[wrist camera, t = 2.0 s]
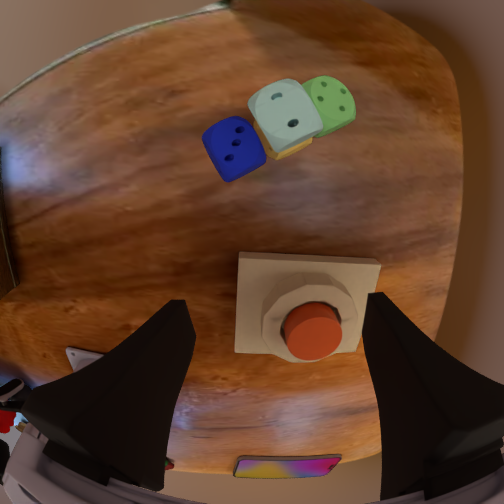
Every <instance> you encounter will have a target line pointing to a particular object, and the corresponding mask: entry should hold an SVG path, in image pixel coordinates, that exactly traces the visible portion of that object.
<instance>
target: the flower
mask: <svg viewBox="0 0 504 504" xmlns="http://www.w3.org/2000/svg"><path fill="white" fill-rule="evenodd" d="M7 401H8V400H7ZM15 417H16V412H10V411H3V410H0V433H8V432H9V431H10V426H13V425H14V418H15Z"/></svg>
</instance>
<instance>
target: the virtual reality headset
mask: <svg viewBox="0 0 504 504" xmlns="http://www.w3.org/2000/svg"><path fill="white" fill-rule="evenodd" d="M31 391H32V389H31V388H30V387H29V386H28V385H26V384H24V382H23V380H21V379H17V378H16V379H13V380H11V381H9V382H8V383H6V384H5V385H3V386H1V387H0V410H3V411H10V412H19V413H21V408H22V406H23V405H24V403H25V401H26V400H27V398H28V396H29V395H30V393H31ZM8 398H9V399H10V400H11V401H7V400H8ZM9 458H10V452H9V446H8V444H7V443H6V442H4V441H3V440H1V439H0V484H1V485H3V484H4V483H3V481H2V478H3V475H4V472H5V469H6V466H7V463H8V460H9Z"/></svg>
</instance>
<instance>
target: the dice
mask: <svg viewBox="0 0 504 504" xmlns="http://www.w3.org/2000/svg"><path fill="white" fill-rule="evenodd" d="M247 105H248V107H249V109H250V111H251V112H252V114H253V116H254V118H255V120H254V124H253V127H252V125H251V124H250V123H249V122H248V121H247V120H246V119H244V118H242V117H239V116H233V117H229V118H226V119H224V120H221V121H219V122H218V123H216V124H214V125H213V126H211V127H210V128H209V129H207V130H206V131H205V132H204V134H203V135H202V141H203V144H204V146H205V148H206V151H207V153H208V155H209V157H210V159H211V160H212V162H213V164H214V166H215V168H216V169H217V171H218V173H219V174H220V176H221V177H222V179H223V180H224V181H225V182H231V181H233V180H236V179H238V178H240V177H242V176H244V175H246V174H248V173H250V172H251V171H253V170H255V169H257V168H258V167H260V166H261V165H263V164H264V163H265V162H266V155H268V156H269V157H270V158H272V159H274V160H280V159H283V158H285V157H287V156H289V155H291V154H293V153H295V152H297V151H299V150H301V149H303V148H305V147H306V146H308V145H310V144H311V143H312V139H313V136H314V137H316V138H319V137H322V136H324V135H327V134H329V133H331V132H333V131H336V130H338V129H340V128H342V127H344V126H345V125H347V124H349V123H351V122H352V121H354V120H355V116H356V107H355V102H354V99H353V97H352V95H351V93H350V92H349V90H348V89H347V88H346V87H345V86H344V85H343V84H342V83H341V82H340V81H338V80H337V79H335V78H333V77H330V76H327V75H324V76H319V77H316V78H313V79H311V80H309V81H307V82H305V83H303V84H302V85H300V84H299V83H298V82H297V81H296V80H292V79H283V80H279V81H276V82H274V83H271V84H269V85H267V86H265V87H263V88H262V89H260V90H259V91H257V92H256V93H255V94H254V95H252V96H251V97H250V99H249V100H248V104H247Z"/></svg>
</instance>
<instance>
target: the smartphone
mask: <svg viewBox="0 0 504 504" xmlns="http://www.w3.org/2000/svg"><path fill="white" fill-rule="evenodd" d="M341 459H342V458H341V455H340V454H333V455H321V456H301V457H262V456H241V457H239V458H238V459H237V462H236V465H235V468H234V471H233V476H234V477H238V478H239V477H240V478H263V479H266V478H267V479H268V478H269V479H270V478H271V479H274V478H275V479H279V478H305V477H318V476H324V475H326V474H328V473H329V472H330V471H331V470H332V469H333V468H334V467H335V466H336V465H337V464H338V462H339V461H340V460H341Z"/></svg>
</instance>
